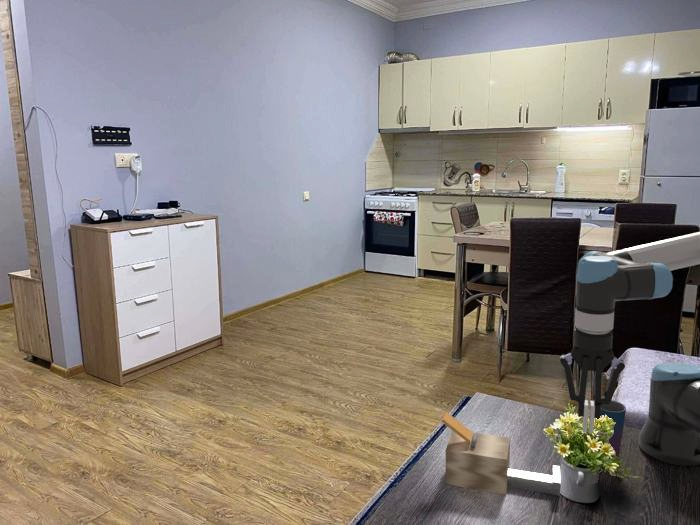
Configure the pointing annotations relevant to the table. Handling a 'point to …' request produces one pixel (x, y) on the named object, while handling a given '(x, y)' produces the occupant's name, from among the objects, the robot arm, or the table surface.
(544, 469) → the table surface
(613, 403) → the cup
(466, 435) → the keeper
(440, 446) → the table surface
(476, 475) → the block
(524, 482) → the white l-shaped bar
